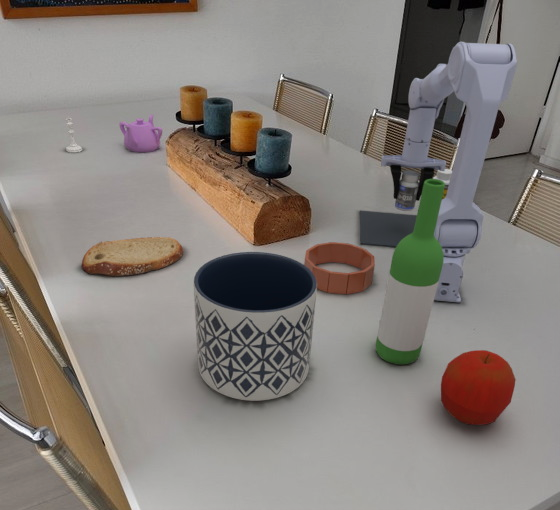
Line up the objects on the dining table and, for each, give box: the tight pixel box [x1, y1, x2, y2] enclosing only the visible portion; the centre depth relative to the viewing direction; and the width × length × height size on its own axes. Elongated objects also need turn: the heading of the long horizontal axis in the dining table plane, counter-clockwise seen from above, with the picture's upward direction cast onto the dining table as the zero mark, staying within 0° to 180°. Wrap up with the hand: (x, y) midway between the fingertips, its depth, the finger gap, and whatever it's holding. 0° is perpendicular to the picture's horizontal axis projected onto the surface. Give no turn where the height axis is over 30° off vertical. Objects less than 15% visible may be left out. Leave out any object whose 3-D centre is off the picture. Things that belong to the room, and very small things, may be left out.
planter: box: [193, 251, 318, 402], centre depth 85 cm, size 18×18×16 cm
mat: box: [359, 210, 417, 248], centre depth 136 cm, size 20×20×1 cm
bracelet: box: [303, 241, 376, 295], centre depth 114 cm, size 14×14×4 cm
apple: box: [440, 349, 517, 426], centre depth 80 cm, size 10×10×12 cm
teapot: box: [118, 113, 163, 153], centre depth 176 cm, size 12×14×9 cm
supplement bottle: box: [432, 168, 453, 200], centre depth 145 cm, size 6×6×10 cm
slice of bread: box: [81, 236, 184, 277], centre depth 116 cm, size 18×18×4 cm
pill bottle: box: [394, 169, 421, 212], centre depth 130 cm, size 5×5×8 cm
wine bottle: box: [375, 178, 445, 366], centre depth 85 cm, size 8×8×30 cm
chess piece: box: [65, 115, 83, 153], centre depth 170 cm, size 5×5×10 cm
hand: (406, 198), depth 131 cm, fingers closed on pill bottle, 5 cm apart
